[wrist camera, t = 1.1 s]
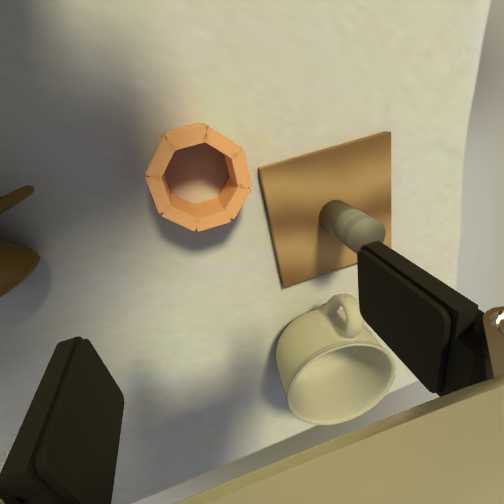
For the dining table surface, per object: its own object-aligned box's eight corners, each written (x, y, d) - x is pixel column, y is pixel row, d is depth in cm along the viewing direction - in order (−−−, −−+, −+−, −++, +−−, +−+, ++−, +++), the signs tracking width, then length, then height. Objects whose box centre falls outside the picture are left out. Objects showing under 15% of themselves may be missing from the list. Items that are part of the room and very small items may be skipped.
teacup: (334, 368, 39) (370, 426, 32) (254, 369, 36) (276, 433, 29) (375, 273, 34) (429, 317, 27) (287, 263, 31) (323, 310, 24)
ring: (136, 139, 23) (132, 144, 20) (227, 115, 24) (236, 117, 20) (169, 224, 26) (169, 240, 23) (247, 200, 27) (258, 213, 24)
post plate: (257, 167, 26) (283, 185, 20) (385, 131, 27) (441, 138, 22) (281, 283, 32) (306, 321, 26) (386, 247, 33) (431, 277, 27)
